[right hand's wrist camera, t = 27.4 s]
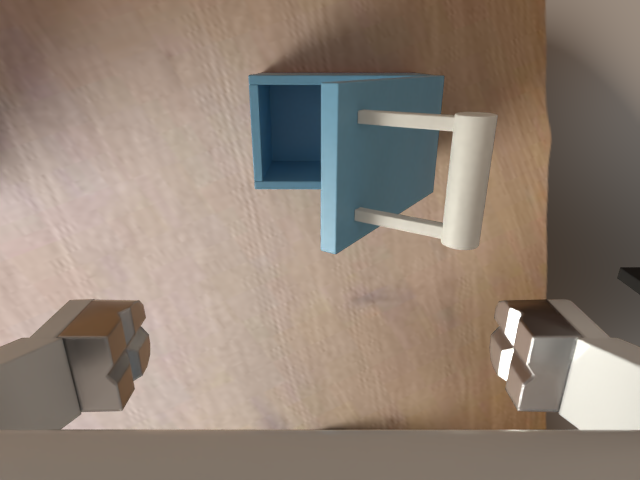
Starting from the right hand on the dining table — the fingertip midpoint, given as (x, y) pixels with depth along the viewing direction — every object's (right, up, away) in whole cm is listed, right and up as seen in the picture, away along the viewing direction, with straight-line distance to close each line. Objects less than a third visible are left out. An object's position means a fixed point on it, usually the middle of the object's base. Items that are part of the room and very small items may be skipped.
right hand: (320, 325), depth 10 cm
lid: (+4, +8, +20) cm, 22 cm away
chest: (+2, +14, +35) cm, 37 cm away
